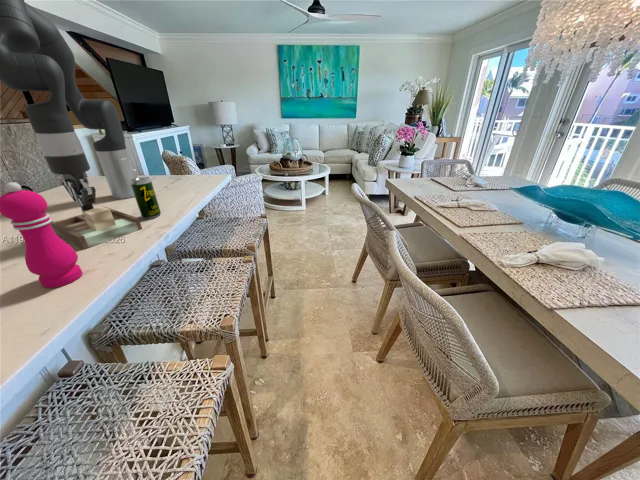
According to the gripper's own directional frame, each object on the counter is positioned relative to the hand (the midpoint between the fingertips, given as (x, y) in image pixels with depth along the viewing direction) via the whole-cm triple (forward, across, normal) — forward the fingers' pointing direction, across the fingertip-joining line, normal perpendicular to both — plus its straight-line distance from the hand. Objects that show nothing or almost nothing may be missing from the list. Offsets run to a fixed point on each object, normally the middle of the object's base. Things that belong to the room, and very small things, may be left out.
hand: (91, 217), depth 73 cm
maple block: (+2, -5, 0) cm, 5 cm away
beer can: (+4, -3, -14) cm, 15 cm away
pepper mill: (+4, -21, +15) cm, 26 cm away
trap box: (+4, 0, 0) cm, 4 cm away
